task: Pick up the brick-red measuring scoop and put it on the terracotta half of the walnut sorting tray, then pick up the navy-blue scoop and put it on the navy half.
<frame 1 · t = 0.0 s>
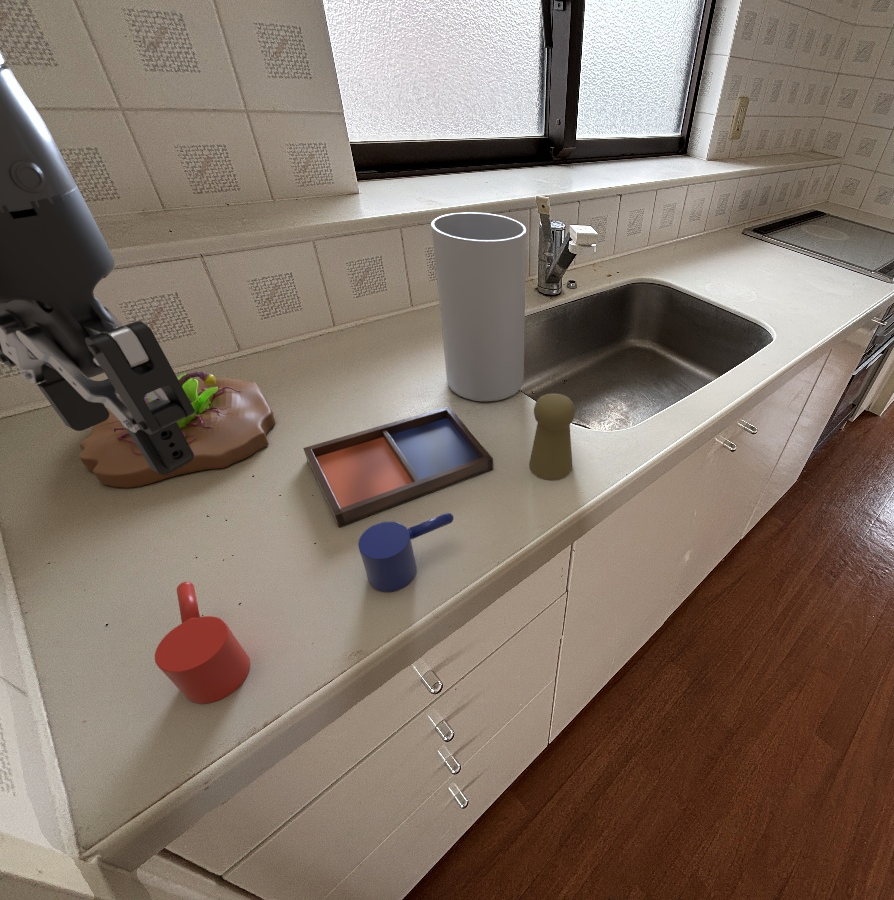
hand: (132, 444, 34), 21 cm above the counter, tool pointing down, fingers open, 8 cm apart
olive pawn figure: (550, 466, 69), on the counter
cylinder vase: (486, 383, 83), on the counter
plant: (189, 432, 66), on the counter
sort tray: (402, 465, 66), on the counter
red scoop: (218, 675, 43), on the counter
blue scoop: (392, 572, 53), on the counter
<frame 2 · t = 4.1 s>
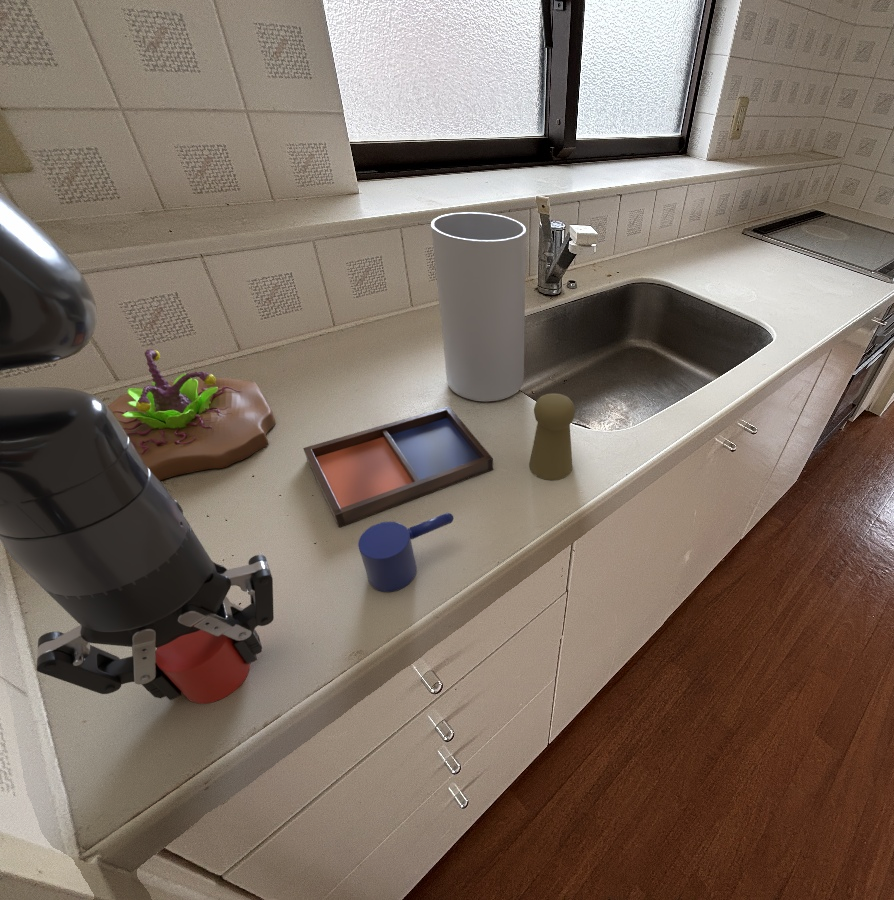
hand: (214, 670, 43), 1 cm above the counter, tool pointing down, fingers closed on red scoop, 4 cm apart
red scoop: (218, 675, 43), on the counter, touching gripper
everything else where it was.
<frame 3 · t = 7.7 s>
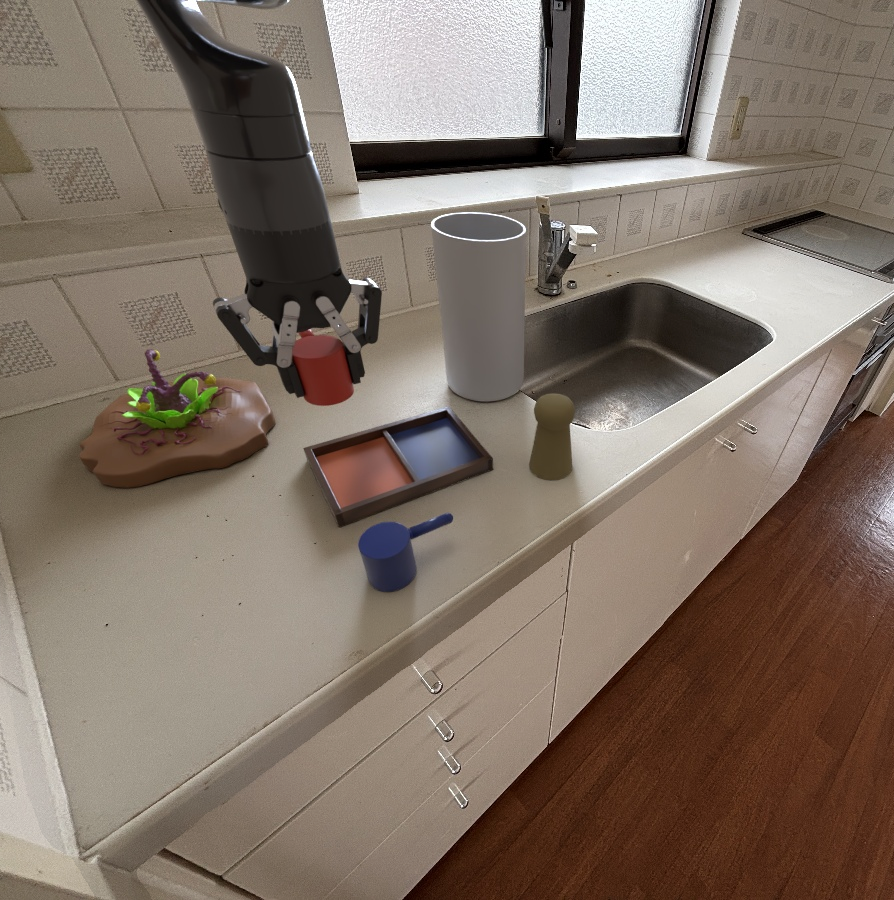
hand: (327, 385, 52), 15 cm above the counter, tool pointing down, fingers closed on red scoop, 4 cm apart
red scoop: (329, 392, 52), point 14 cm above the counter, touching gripper
everything else where it was.
when the fingers open (2 cm above the counter, at t = 11.3 s): red scoop stays where it is, resting on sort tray.
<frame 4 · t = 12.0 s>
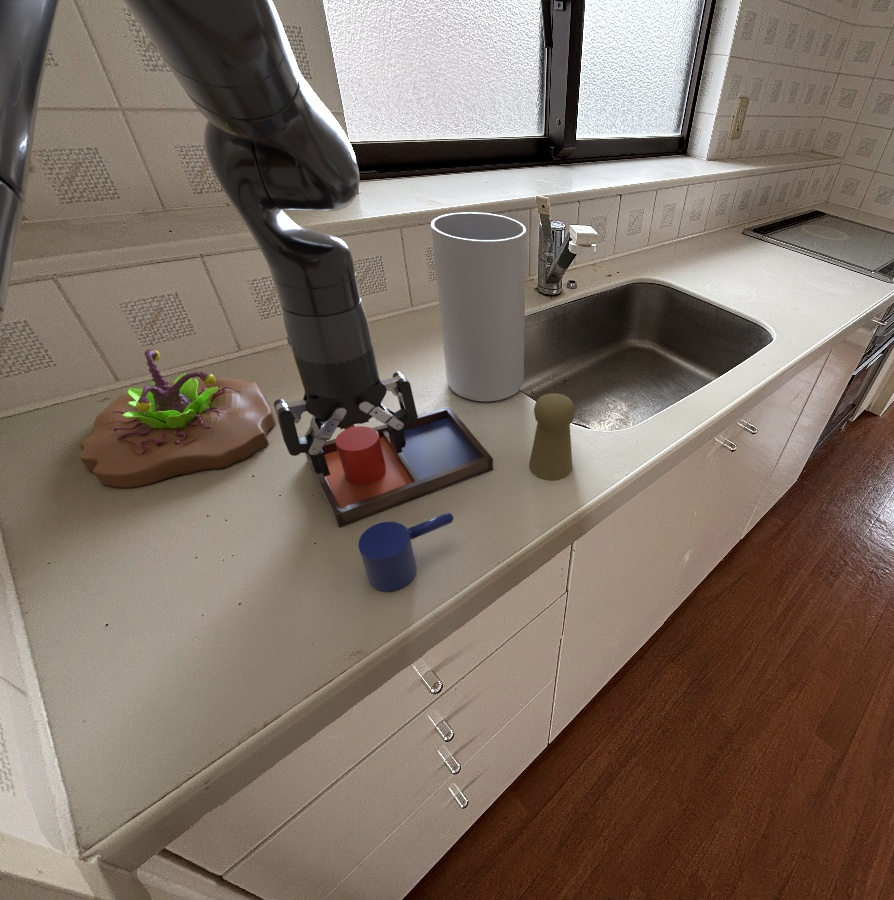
hand: (362, 460, 62), 3 cm above the counter, tool pointing down, fingers open, 8 cm apart
red scoop: (365, 471, 63), point 1 cm above the counter, touching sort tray
everything else where it was.
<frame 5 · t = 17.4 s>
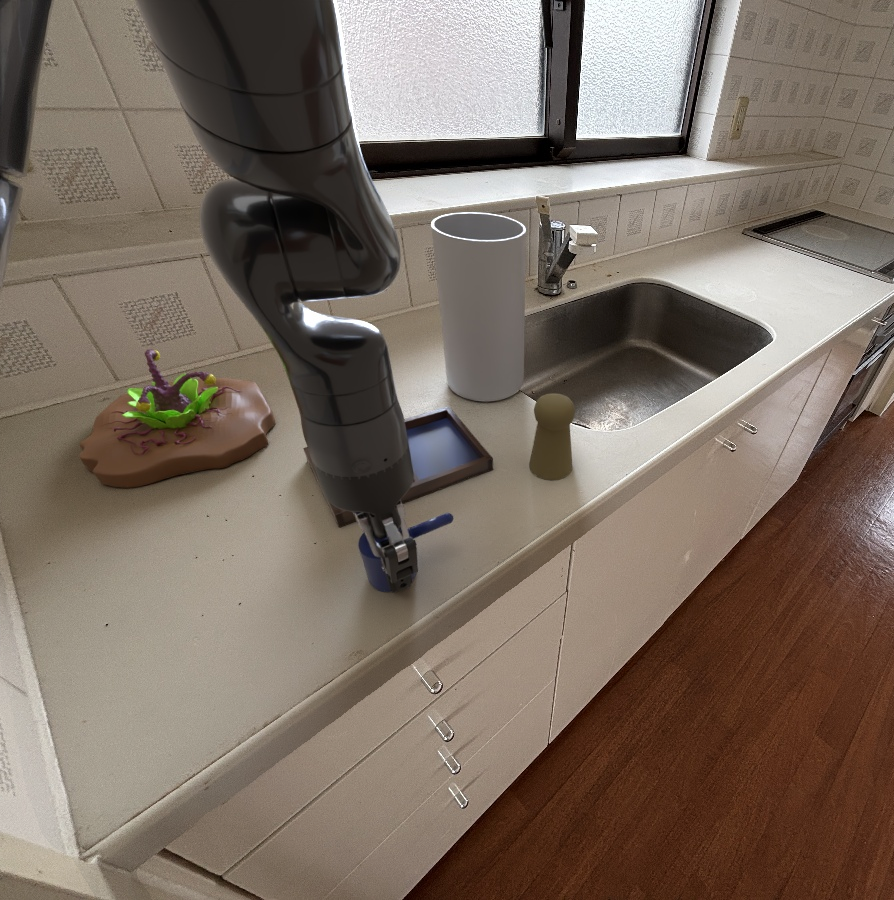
hand: (391, 567, 52), 1 cm above the counter, tool pointing down, fingers closed on blue scoop, 4 cm apart
blue scoop: (392, 572, 53), on the counter, touching gripper
everything else where it was.
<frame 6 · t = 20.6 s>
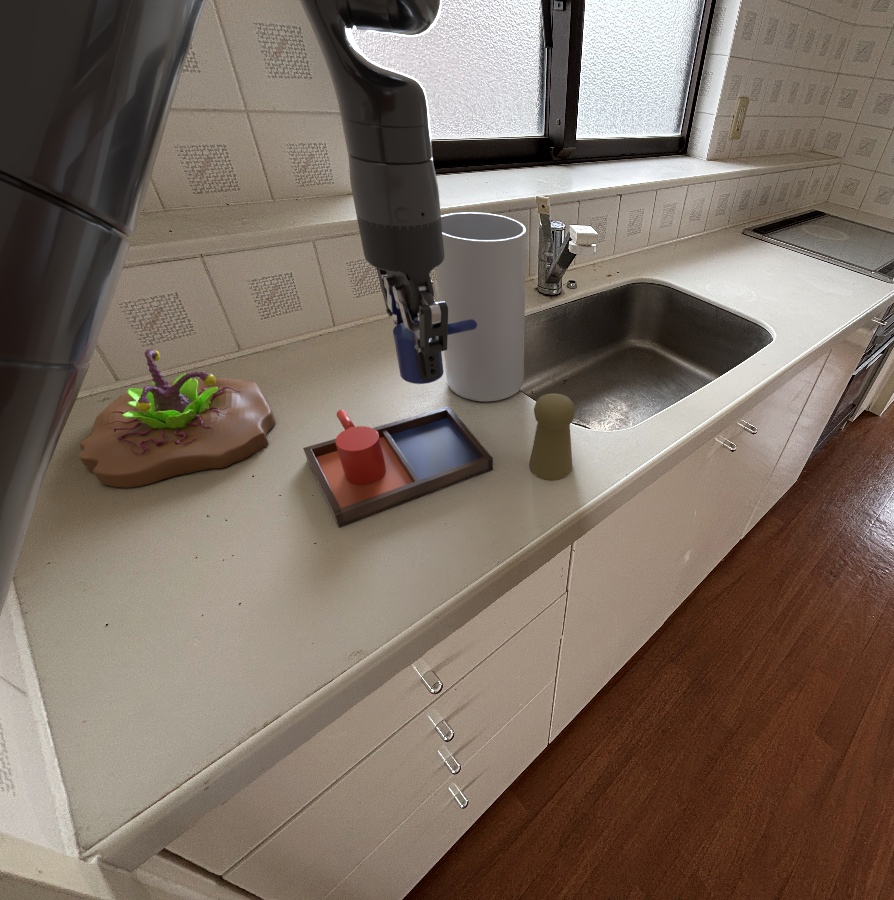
hand: (420, 366, 57), 15 cm above the counter, tool pointing down, fingers closed on blue scoop, 4 cm apart
blue scoop: (422, 372, 58), point 14 cm above the counter, touching gripper
everything else where it was.
when the fingers open (2 cm above the counter, at t = 24.0 s): blue scoop stays where it is, resting on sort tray.
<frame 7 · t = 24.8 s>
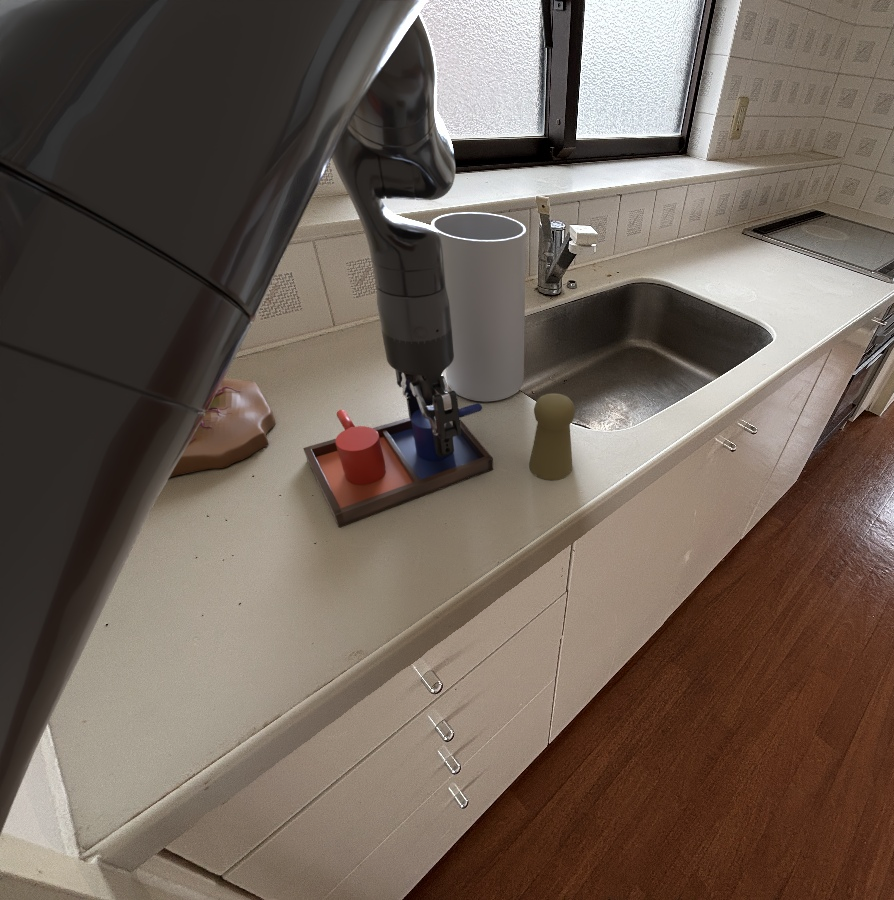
hand: (431, 436, 66), 3 cm above the counter, tool pointing down, fingers open, 8 cm apart
blue scoop: (434, 449, 68), point 1 cm above the counter, touching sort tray
everything else where it was.
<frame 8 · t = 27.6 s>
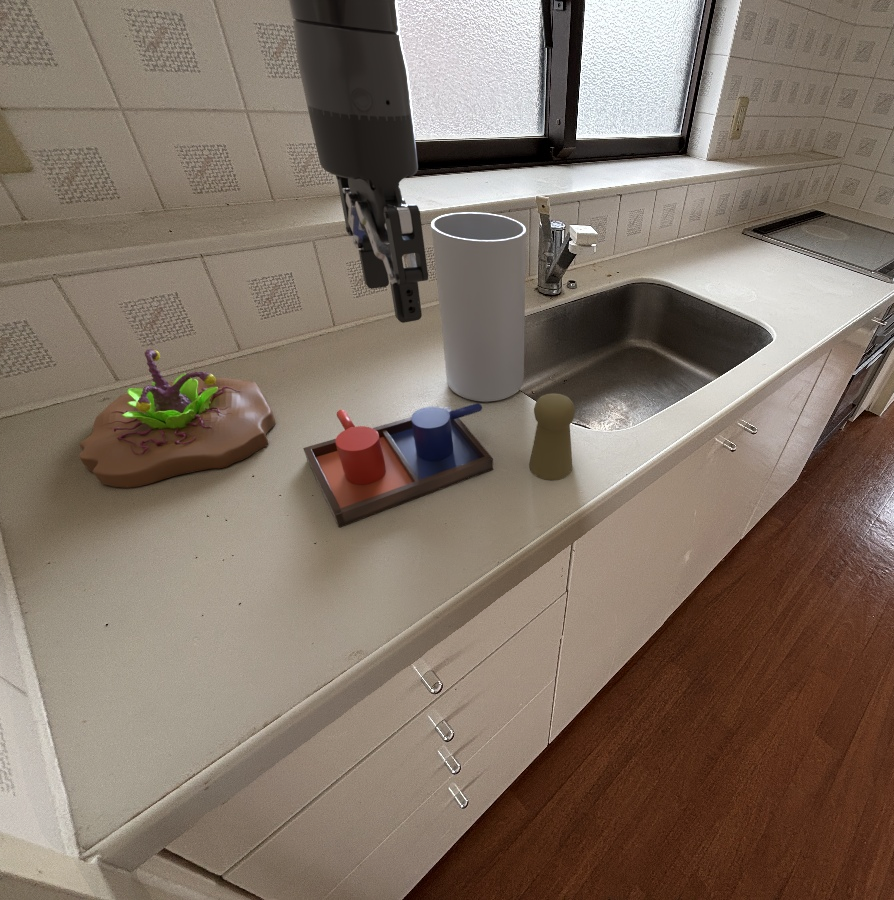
hand: (392, 302, 49), 24 cm above the counter, tool pointing down, fingers open, 8 cm apart
nothing on the counter moved.
at the end: red scoop inside the target area on the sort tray (0.2 cm from its centre), point 0.8 cm above the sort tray's base; blue scoop inside the target area on the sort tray (0.2 cm from its centre), point 0.8 cm above the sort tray's base; blue scoop tilted 0° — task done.
